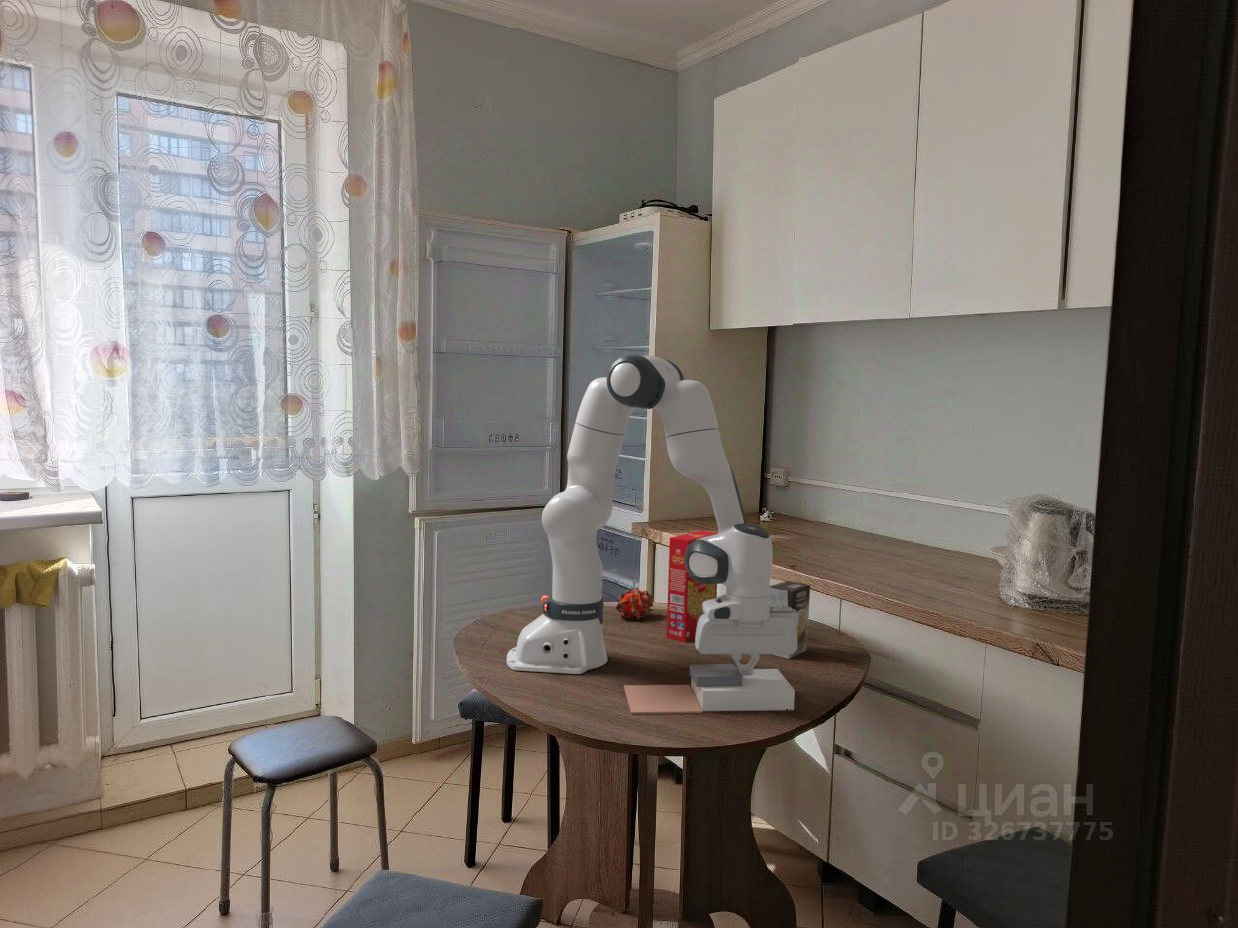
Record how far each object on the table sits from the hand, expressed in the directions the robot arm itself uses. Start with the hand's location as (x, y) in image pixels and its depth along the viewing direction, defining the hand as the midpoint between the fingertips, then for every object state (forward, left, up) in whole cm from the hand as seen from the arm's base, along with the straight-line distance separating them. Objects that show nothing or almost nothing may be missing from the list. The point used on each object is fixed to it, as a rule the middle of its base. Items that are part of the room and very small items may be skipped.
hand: (744, 674), depth 166 cm
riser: (-1, 0, -5) cm, 5 cm away
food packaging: (-3, +44, -5) cm, 44 cm away
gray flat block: (-6, 0, -1) cm, 6 cm away
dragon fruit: (-16, +58, -5) cm, 60 cm away
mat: (-17, 0, -5) cm, 17 cm away
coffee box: (+17, +29, -5) cm, 34 cm away
